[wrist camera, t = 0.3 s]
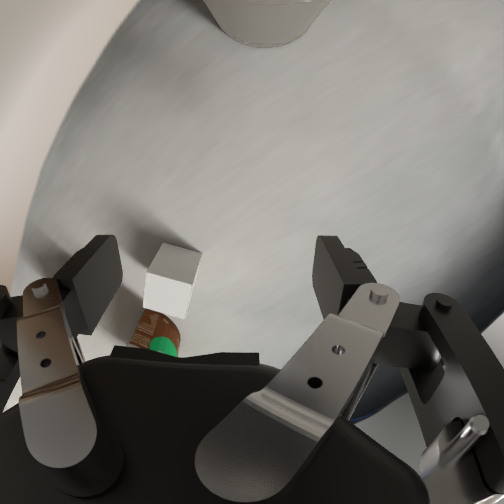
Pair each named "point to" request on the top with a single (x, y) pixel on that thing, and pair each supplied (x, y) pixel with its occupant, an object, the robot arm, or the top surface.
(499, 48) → the top surface
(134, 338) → the food container
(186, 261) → the grey plastic block
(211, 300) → the top surface
